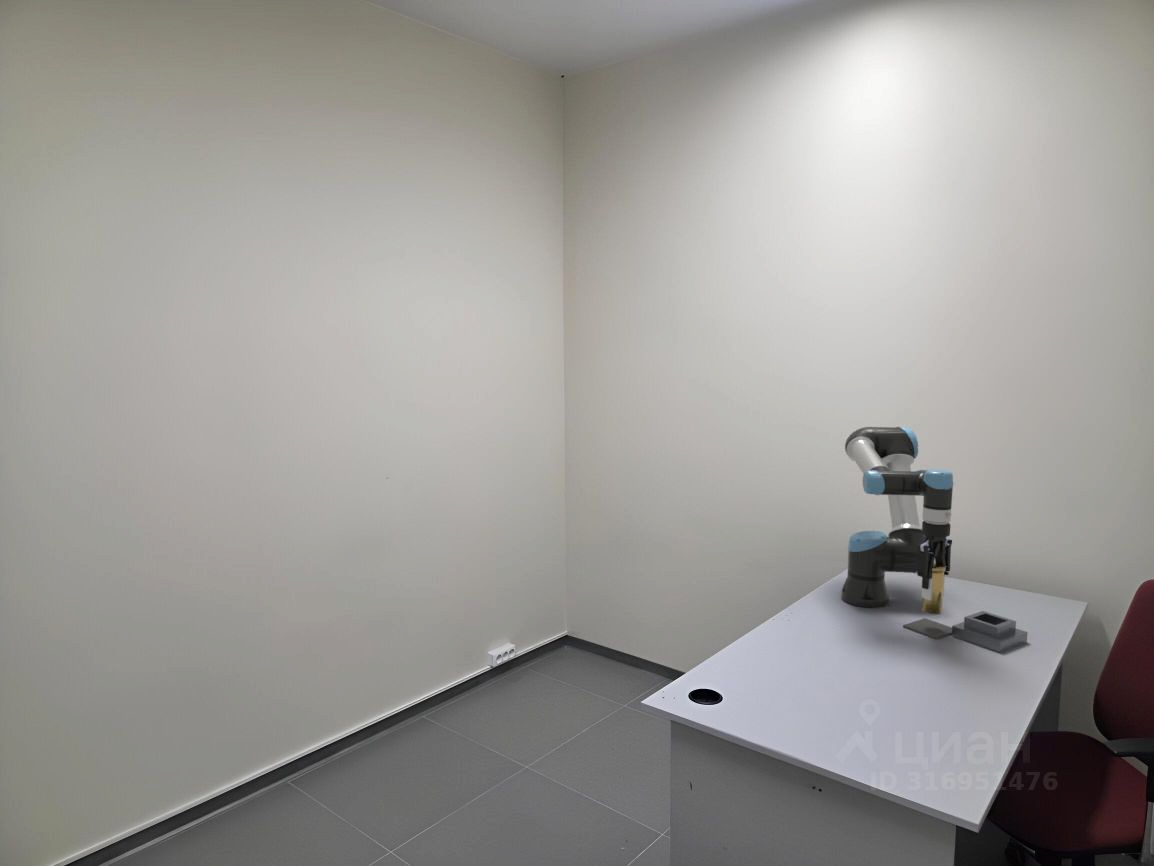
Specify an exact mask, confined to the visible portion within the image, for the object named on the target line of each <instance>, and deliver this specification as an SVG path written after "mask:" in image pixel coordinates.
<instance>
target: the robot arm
mask: <svg viewBox="0 0 1154 866" xmlns="http://www.w3.org/2000/svg"><path fill="white" fill-rule="evenodd" d="M844 449H845V453H846V455H847V457H848V458H849V459H850V460H851V461H853V462H855V463H856V465H857V466H858V468H859V470H860V471H861V472H862V474H863V476H862V487H863V491H864V493H865V494H868V495H875V496H880V495H881V496H887V498H888V499H887V500H888V504H889V505H888V507H889V514H890V520H891V527H892V529H891V530H890V531H889V532H888V536H887V534H886V533H885V532H883V531H878V530H877V531H876V530H863V531H858V532H855V533H853V534H851V536H849V539H848V547H847V550H848V552H847V553H848V555H847V556H848V557H847V576H846V579H845V581H844V584H843V586H842V589H841V593H840V595H841V596H840V597H841V600H842V601H844V602H845V603H847V604H850V605H853V606H857V607H861V608H871V609H873V608H875V609H877V608H884V607H887V606H889V604H890V594H889V591H888V588H887V585H886V584H887V583H886V581H885V577H886V576H885V575H886V574H885V573H886V572H887V573H908V574H910V573H912V574H916V575H917V576H918V577H921V598H922V599H923V598H925V599H928V600H931V598H932V578H931V573H932V568H933V564H934V563H936V564H939V565H943V566H945V571H944V580H945V579H946V578H945V576H949V574H950V571H951V554H952V550H951V549H952V544H953V539H949V538H947V537H950V535H951V523H950V522H951V521H952V520H951V517H952V507H953V506H952V504H953V503H952V502H953V488H954V474H953V472H952V471H950V470H946V469H934V468H933V469H926V470H925V469H918V470H915V471H914V470H913V471H912V469H911V466H912V465H913V463H914V462H915V459H916V458H917V457H918V456H919V455H918V454H919V442H918V438H917V435H916V434H915V432H914V431H913V430H912V429H911V428H909V427H902V426H895V427H891V426H888V427H887V426H864V427H861V428H858V429H856V430H855V431H853V432H851V434H849V436H848V437H847V439H846V440H845V443H844ZM916 496H921V497H923V503H922V504H923V505H922V520H923V521H922V522H921V523H922V524H921V525H920V519H919V515H918V514H919V512H918V507H917V499H916ZM944 594H945V582H944V583H943V597H944V596H945V595H944Z"/></svg>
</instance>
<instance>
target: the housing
mask: <svg viewBox="0 0 1154 866" xmlns="http://www.w3.org/2000/svg"><path fill="white" fill-rule="evenodd" d="M951 627H952V634H951V636H952V637H955V638H957V639H960V640H963V641H965V642H968V643H972V644H974V645H977V646H980V647H983V648H985V649H988V650H991V651H994V652H996V653H1000V654H1001V653H1004V652H1006V651H1008V650H1011V649H1014V648H1016V647H1019V646H1020V645H1024V644H1025V643H1028V631H1025V630H1022V629H1019V628H1016V627H1017V621H1016V620H1013V619H1010V618H1006V617H1004V616H1000V615H998V614H994V613H991V612H988V611H986V610H985V611H984V610H981V611H978V612H975V613H972V614H969V615H967V616H964V618H963V621H962V622H960V623H957V624H954V625H952V626H951Z"/></svg>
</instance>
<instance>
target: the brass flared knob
mask: <svg viewBox="0 0 1154 866" xmlns="http://www.w3.org/2000/svg"><path fill="white" fill-rule="evenodd" d="M944 571H945V566H943V565H939V564H936V563H935V562H934V564H933V568H932V573H931V578H932V598H931V600H928V599H925V598H922V601H921V604H922V605H921V611H923V612H924V613H927V614H931V615H941V614H942V613H943V598H944V596H943V583H944V584H945V579H944Z"/></svg>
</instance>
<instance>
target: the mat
mask: <svg viewBox="0 0 1154 866" xmlns="http://www.w3.org/2000/svg"><path fill="white" fill-rule="evenodd" d="M902 628H904V629H907V630H910V631H913V632H915V633H918V634H921V635H923V636H925V637H929V638H932V639H934V640H940V639H943V638H945V637H948V636H952V626H949V625H946V624H944V623H940V622H937V621H934V620H933V619H929V618H926V617H925V618H921V619H917V620H914V621H912V622H909V623H906V624H903V625H902Z"/></svg>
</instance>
